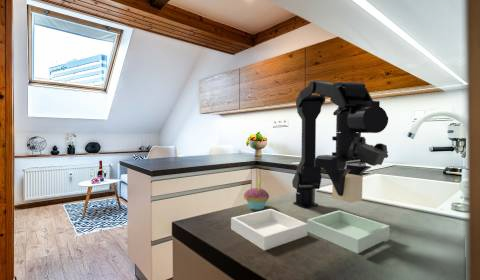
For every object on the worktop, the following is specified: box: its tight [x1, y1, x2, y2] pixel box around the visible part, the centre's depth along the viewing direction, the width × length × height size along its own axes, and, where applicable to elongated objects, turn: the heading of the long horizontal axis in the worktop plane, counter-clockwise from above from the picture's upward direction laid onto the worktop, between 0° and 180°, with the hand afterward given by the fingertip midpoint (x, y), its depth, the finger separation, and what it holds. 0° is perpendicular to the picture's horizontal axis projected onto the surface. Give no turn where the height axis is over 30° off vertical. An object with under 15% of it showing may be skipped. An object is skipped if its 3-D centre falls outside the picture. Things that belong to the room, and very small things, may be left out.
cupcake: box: [243, 175, 270, 211], centre depth 83 cm, size 9×8×12 cm
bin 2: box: [306, 210, 391, 254], centre depth 62 cm, size 14×14×4 cm
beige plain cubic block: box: [331, 174, 364, 204], centre depth 62 cm, size 5×5×6 cm
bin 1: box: [230, 208, 309, 251], centre depth 63 cm, size 14×14×4 cm
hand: (346, 194), depth 62 cm, fingers closed on beige plain cubic block, 5 cm apart
